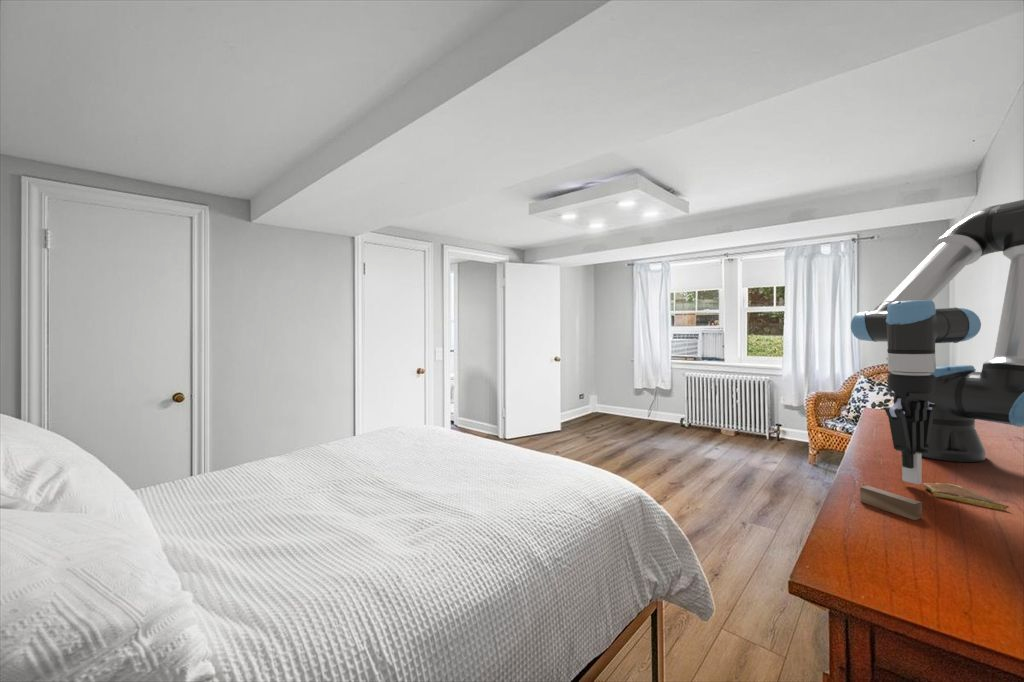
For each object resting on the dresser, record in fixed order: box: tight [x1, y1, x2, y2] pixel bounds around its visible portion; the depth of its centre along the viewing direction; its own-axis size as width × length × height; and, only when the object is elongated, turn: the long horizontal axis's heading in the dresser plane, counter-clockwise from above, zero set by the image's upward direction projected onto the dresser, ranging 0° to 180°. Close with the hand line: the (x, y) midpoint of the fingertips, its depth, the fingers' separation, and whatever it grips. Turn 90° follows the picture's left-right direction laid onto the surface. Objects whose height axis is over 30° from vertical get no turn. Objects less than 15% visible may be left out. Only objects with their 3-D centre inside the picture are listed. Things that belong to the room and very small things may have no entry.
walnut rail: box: [859, 485, 923, 521], centre depth 82 cm, size 2×9×3 cm, turn 19°
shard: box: [922, 482, 1010, 511], centre depth 85 cm, size 11×8×2 cm
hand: (911, 481), depth 92 cm, fingers closed
